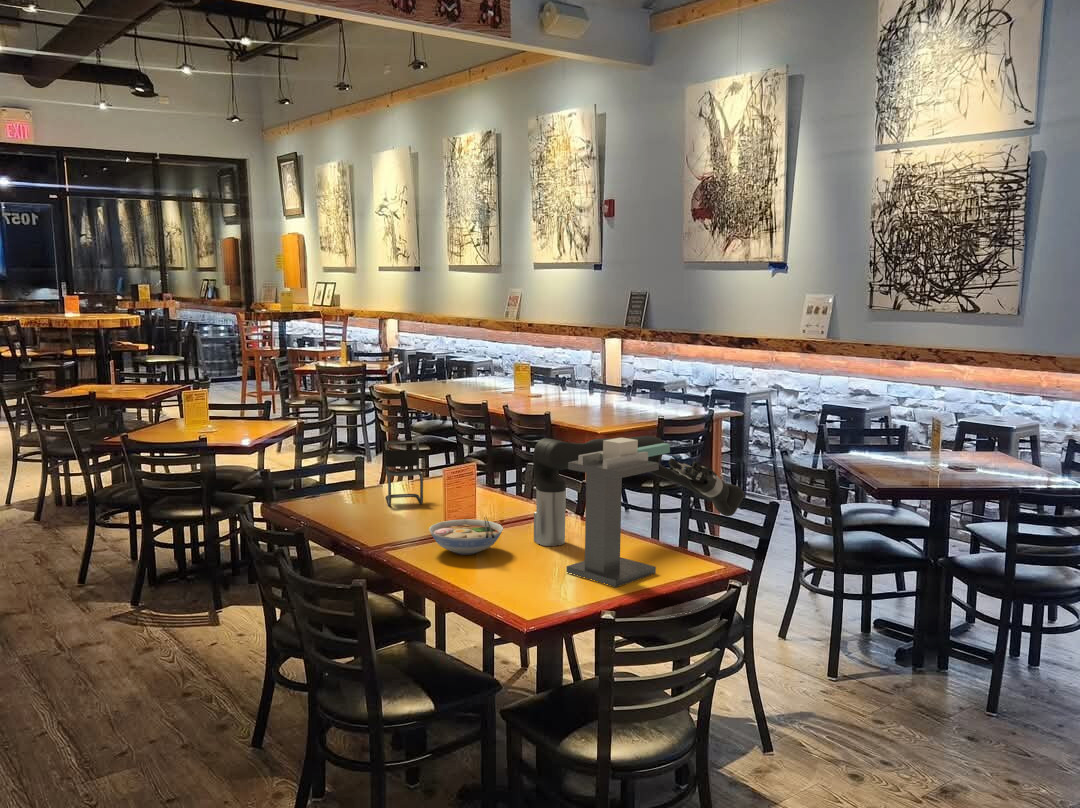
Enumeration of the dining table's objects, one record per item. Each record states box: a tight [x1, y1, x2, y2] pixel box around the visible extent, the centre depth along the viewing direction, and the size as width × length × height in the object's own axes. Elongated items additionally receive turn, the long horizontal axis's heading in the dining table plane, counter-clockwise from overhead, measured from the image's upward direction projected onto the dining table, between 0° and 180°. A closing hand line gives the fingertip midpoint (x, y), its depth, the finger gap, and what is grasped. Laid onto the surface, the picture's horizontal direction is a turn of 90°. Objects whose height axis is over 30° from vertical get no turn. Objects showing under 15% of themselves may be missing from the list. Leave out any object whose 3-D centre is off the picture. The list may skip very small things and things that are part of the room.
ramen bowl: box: [428, 516, 504, 556], centre depth 280 cm, size 25×23×8 cm
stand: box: [566, 451, 660, 588], centre depth 259 cm, size 18×18×34 cm
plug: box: [603, 437, 671, 459], centre depth 265 cm, size 6×26×6 cm, turn 136°
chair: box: [384, 439, 424, 507], centre depth 346 cm, size 13×17×22 cm
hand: (681, 462), depth 281 cm, fingers open, 8 cm apart
